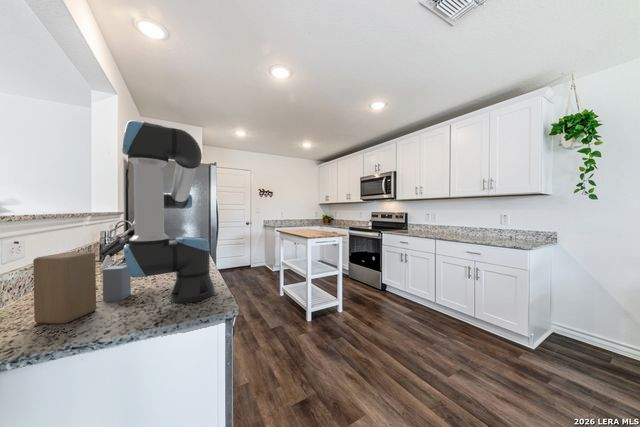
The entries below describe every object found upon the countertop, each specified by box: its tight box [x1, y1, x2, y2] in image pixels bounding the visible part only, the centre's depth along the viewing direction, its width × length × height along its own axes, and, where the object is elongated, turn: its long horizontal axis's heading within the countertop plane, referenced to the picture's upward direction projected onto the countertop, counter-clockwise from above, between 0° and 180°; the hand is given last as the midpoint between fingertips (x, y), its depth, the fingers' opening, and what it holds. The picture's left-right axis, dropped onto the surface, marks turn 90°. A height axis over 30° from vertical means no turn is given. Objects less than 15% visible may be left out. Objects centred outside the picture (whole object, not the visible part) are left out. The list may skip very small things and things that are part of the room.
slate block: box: [102, 264, 132, 302], centre depth 90 cm, size 6×6×12 cm
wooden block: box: [32, 251, 97, 324], centre depth 74 cm, size 10×10×20 cm
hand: (122, 269), depth 94 cm, fingers open, 13 cm apart
